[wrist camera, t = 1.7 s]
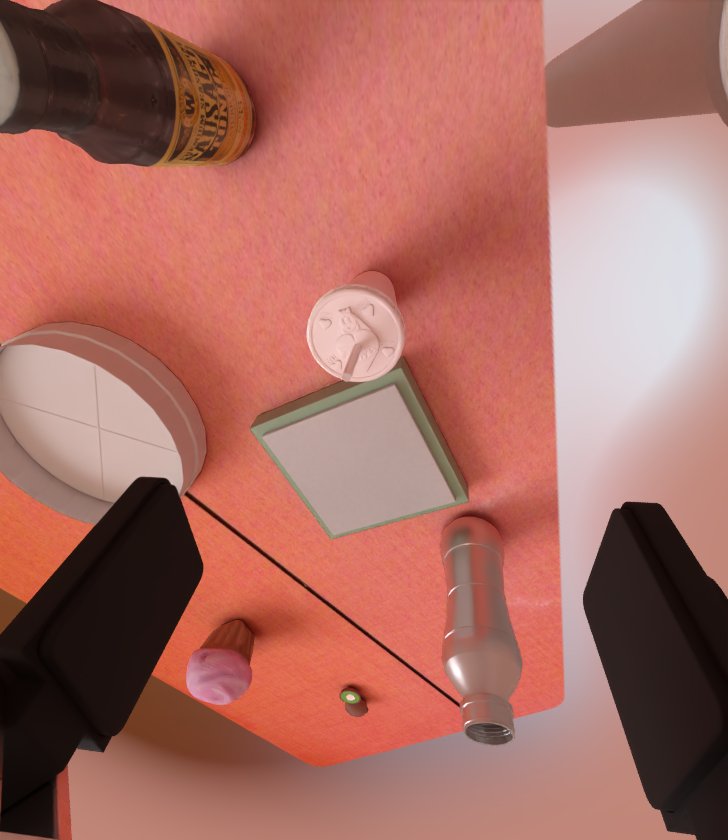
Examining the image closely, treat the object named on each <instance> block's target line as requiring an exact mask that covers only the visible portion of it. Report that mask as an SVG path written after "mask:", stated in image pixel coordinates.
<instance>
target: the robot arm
mask: <svg viewBox="0 0 728 840" xmlns="http://www.w3.org/2000/svg"><path fill="white" fill-rule="evenodd" d="M202 574H203V562H202V559H201V556H200V553H199V550H198V548H197V545H196V542H195V539H194V536H193V533H192V530H191V528H190V525H189V522H188V519H187V516H186V513H185V510H184V508H183V505H182V502H181V499H180V496H179V493H178V490H177V488H176V486H174V485H172V484H171V483H170V481H169V480H168V479H167V478H161V477H142V476H141V477H138V478H137V479H136V480H134V481H133V483H132V484H131V485H130V486H129V487H128V488H127V489H126V491H125V492H124V493H123V494H122V495H121V496H120V498H119V499H118V500H117V501H116V502H115V503H114V504H113V506H112V507H111V508H110V509H109V510H108V511H107V512H106V514H105V515H104V516H103V517H102V518H101V519H100V521H99V522H98V523H97V524H96V525H95V526H94V527H93V529H92V530H91V531H90V532H89V533H88V534H87V535H86V537H85V538H84V539H83V540H82V541H81V542H80V544H79V545H78V546H77V547H76V548H75V549H74V550H73V552H72V553H71V554H70V555H69V556H68V557H67V558H66V560H65V561H64V562H63V563H62V564H61V565H60V567H59V568H58V569H57V570H56V571H55V572H54V573H53V575H52V576H51V577H50V578H49V579H48V580H47V582H46V583H45V584H44V585H43V586H42V587H41V588H40V590H39V591H38V592H37V593H36V594H35V595H34V596H33V598H32V599H31V600H30V601H29V602H28V603H27V605H26V606H25V607H24V608H23V609H22V610H21V611H20V613H19V614H18V615H17V616H16V617H15V619H13V621H12V622H11V623H10V624H9V625H8V626H7V628H6V629H5V630H4V631H3V632H2V633H1V634H0V840H72V837H71V836H72V835H71V819H70V800H69V783H68V766H67V764H68V762H69V761H70V759H71V757H72V755H73V754H74V752H75V750H76V748H78V749H82V750H89V751H97V752H104V751H105V748H106V746H107V745H108V743H109V741H110V739H111V737H112V736H115V735H117V734H118V733H119V732H120V731H121V730H122V728H123V727H124V725H125V724H126V722H127V720H128V718H129V716H130V714H131V712H132V710H133V708H134V706H135V704H136V703H137V701H138V699H139V697H140V695H141V693H142V691H143V689H144V687H145V685H146V683H147V681H148V679H149V678H150V676H151V674H152V672H153V670H154V668H155V666H156V664H157V662H158V660H159V658H160V657H161V655H162V653H163V651H164V649H165V647H166V645H167V643H168V641H169V639H170V637H171V635H172V633H173V632H174V630H175V628H176V626H177V624H178V622H179V620H180V618H181V616H182V614H183V612H184V610H185V609H186V607H187V605H188V603H189V601H190V599H191V597H192V595H193V593H194V591H195V589H196V587H197V586H198V584H199V582H200V580H201V577H202ZM583 605H584V610H585V614H586V616H587V620H588V623H589V625H590V629H591V632H592V635H593V638H594V641H595V644H596V647H597V650H598V653H599V656H600V659H601V662H602V665H603V668H604V671H605V674H606V677H607V680H608V683H609V686H610V689H611V692H612V695H613V698H614V701H615V704H616V707H617V710H618V713H619V716H620V719H621V722H622V725H623V728H624V731H625V734H626V738H627V741H628V744H629V746H630V749H631V753H632V756H633V759H634V762H635V765H636V768H637V771H638V774H639V777H640V780H641V783H642V786H643V789H644V792H645V794H646V797H647V799H648V801H649V803H650V804H651V806H652V807H653V808H655V809H658V810H660V811H661V814H662V817H663V820H664V822H665V825H666V828H667V831H670V832H677V833H685V834H691V835H695V836H696V839H697V840H728V599H727V597H726V596H725V594H724V593H723V591H722V589H721V588H720V587H719V586H718V584H717V583H716V582H715V581H714V580H713V579H711V578H710V577H709V576H707V575H706V573H705V572H704V570H703V569H702V567H701V565H700V564H699V562H698V561H697V559H696V558H695V556H694V555H693V553H692V551H691V550H690V548H689V547H688V545H687V543H686V542H685V540H684V539H683V537H682V536H681V534H680V533H679V531H678V529H677V528H676V526H675V525H674V523H673V522H672V520H671V519H670V517H669V515H668V514H667V512H666V511H665V509H664V508H663V507H662V506H661V505H660V504H658V503H644V502H642V503H641V502H625V503H624V504H623V505H622V507H621V509H614V510H613V512H612V514H611V517H610V519H609V522H608V525H607V528H606V531H605V534H604V537H603V539H602V542H601V545H600V548H599V551H598V553H597V557H596V559H595V562H594V565H593V568H592V571H591V574H590V576H589V579H588V582H587V585H586V588H585V590H584V594H583Z"/></svg>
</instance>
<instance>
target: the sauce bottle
mask: <svg viewBox="0 0 728 840" xmlns="http://www.w3.org/2000/svg"><path fill="white" fill-rule="evenodd" d="M256 121H257V118H256V112H255V108H254V104H253V100H252V97H251V94H250V93H249V90H248V87H247V85H246V83H245V81H244V80H243V79H242V78H241V77H240V76H239V75H238V74H237V73H236V71H235V70H234V69H233V68H232V67H231V66H230V65H229V64H228V63H227V62H226V61H224V60H223V59H221V58H219V57H218V56H216V55H214V54H212V53H210V52H208V51H206V50H204V49H202V48H200V47H198V46H196V45H194V44H192V43H190V42H188V41H186V40H185V39H183V38H181V37H179V36H177V35H175V34H173V33H171V32H169V31H167V30H165V29H162V28H160V27H158V26H156V25H154V24H152V23H150V22H148V21H146V20H144V19H142V18H140V17H138V16H135V15H133V14H130V13H128V12H125V11H123V10H120V9H118V8H115V7H113V6H110V5H108V4H105V3H103V2H100V1H98V0H61V1H59V2H56V3H53V4H51V5H50V6H48V7H47V8H46V9H44V10H39V9H32V8H28V7H25V6H23V5H20V4H18V3H15V2H12V1H10V0H0V133H9V134H20V133H24V132H27V131H29V130H30V129H42V130H47V131H51V132H56V133H57V134H58V135H59V136H60V137H61V138H62V139H65V140H68V141H70V142H72V143H73V144H75V145H77V146H79V147H81V148H82V149H83V150H85V151H86V152H87V153H88V154H89V155H90V156H91V157H92V158H94V159H95V160H97V161H99V162H102V163H107V164H133V165H137V166H146V167H174V166H221V165H225V164H227V163H230V162H232V161H234V160H236V159H238V158H239V157H241V156H243V155H244V154H245V153H246V151H247V150H248V148H249V146H250V144H251V142H252V139H253V136H254V134H255V130H256V128H255V125H256Z"/></svg>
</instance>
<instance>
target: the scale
mask: <svg viewBox="0 0 728 840" xmlns="http://www.w3.org/2000/svg"><path fill="white" fill-rule="evenodd" d="M250 430H251V431H252V433H253V434H254V435H255V437H256V438H257V439H258V441H259V442H260V444H261V445H262V446H263V448H264V449H265V450H266V452H267V453H268V454H269V456H270V457H271V459H272V460H273V461H274V463H275V464H276V465H277V467H278V468H279V469H280V471H281V472H282V473H283V475H284V476H285V478H286V479H287V480H288V482H289V483H290V484H291V486H292V487H293V488H294V490H295V491H296V492H297V494H298V495H299V497H300V498H301V499H302V501H303V502H304V503H305V505H306V506H307V507H308V509H309V510H310V511H311V513H312V514H313V516H314V517H315V518H316V520H317V521H318V522H319V524H320V525H321V526H322V528H323V529H324V530H325V532H326V533H327V535H328V536H329V537H330V539H334V538H338V537H342V536H345V535H349V534H353V533H356V532H360V531H364V530H368V529H371V528H375V527H379V526H382V525H386V524H390V523H393V522H397V521H401V520H404V519H408V518H412V517H415V516H419V515H423V514H426V513H430V512H434V511H437V510H441V509H445V508H448V507H452V506H456V505H459V504H463V503H467V502H469V495H468V486H467V484H466V482H465V480H464V478H463V476H462V474H461V472H460V470H459V468H458V466H457V464H456V462H455V460H454V458H453V456H452V454H451V452H450V450H449V448H448V446H447V444H446V442H445V440H444V438H443V436H442V434H441V432H440V430H439V428H438V426H437V424H436V422H435V420H434V418H433V415H432V413H431V411H430V409H429V407H428V405H427V403H426V401H425V399H424V397H423V395H422V393H421V391H420V389H419V387H418V385H417V383H416V381H415V379H414V377H413V375H412V373H411V371H410V369H409V367H408V365H407V363H406V361H405V359H404V357H403V356H401V357H400V358H399V360H398V361H397V363H396V364H395V366H394V367H393V368H392V369H391V370H390V371H389V372H387V373H386V374H385V375H383V376H381V377H379V378H377V379H374V380H371V381H366V382H351V381H348V382H346V381H344V380H343V381H341V382H338V383H336V384H333V385H331V386H329V387H326V388H324V389H321V390H319V391H317V392H314V393H312V394H309V395H307V396H304V397H302V398H300V399H297V400H295V401H292V402H290V403H288V404H285V405H283V406H280V407H278V408H275V409H273V410H271V411H268V412H266V413H263V414H261V415H259V416H257V418H256V419H255V421H254V423H253V424H252V426H251V427H250Z"/></svg>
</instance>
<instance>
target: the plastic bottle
mask: <svg viewBox="0 0 728 840" xmlns="http://www.w3.org/2000/svg"><path fill="white" fill-rule="evenodd" d="M440 552H441V557H442V562H443V565H444V569H445V577H446V586H447V610H446V623H445V630H444V638H443V645H442V658H441V659H442V662H443V666H444V669H445V673H446V675H447V676H448V678H449V679H450V681H451V683H452V684H453V686H454V687H455V689H456V690H457V691H458V693H459V694H460V695H461V697H462V698H463V700H462V701H461V703H460V711H461V714H462V722H463V731H464V734H465V736H466V737H467V738H468V739H470V740H472V741H474V742H476V743H480V744H483V745H491V746H497V745H504V744H508V743H510V742H512V741H513V740H514V738H515V730H514V724H513V717H514V715H513V708H512V706H511V704H510V703H509V702H508V700H509V699H510V697H511V695H512V694H513V692H514V691H515V689H516V687H517V684H518V682H519V680H520V677H521V672H522V658H521V654H520V649H519V647H518V643H517V640H516V637H515V634H514V630H513V627H512V624H511V621H510V617H509V612H508V608H507V604H506V598H505V593H504V578H503V565H504V544H503V542H502V539H501V537H500V534H499V532H498V530H497V529H496V528H495V527H494V526H493V525H491V524H490V523H489V522H487V521H486V520H484V519H481V518H478V517H461V518H458V519H455V520H454V521H452V522H451V523H450V524H449V525H448V526H446V528H445V529H444V530H443V533H442V536H441V541H440Z"/></svg>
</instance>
